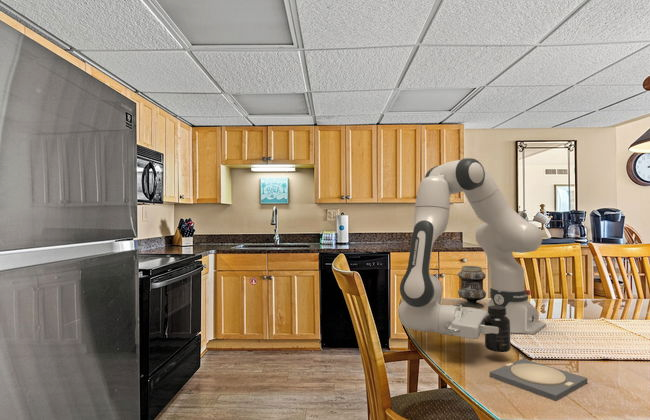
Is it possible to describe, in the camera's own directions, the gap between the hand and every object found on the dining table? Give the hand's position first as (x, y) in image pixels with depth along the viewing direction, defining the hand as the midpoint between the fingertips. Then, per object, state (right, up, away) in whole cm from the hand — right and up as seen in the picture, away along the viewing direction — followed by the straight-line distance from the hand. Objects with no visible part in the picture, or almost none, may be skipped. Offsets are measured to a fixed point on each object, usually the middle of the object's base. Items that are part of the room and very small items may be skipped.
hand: (500, 326), depth 111 cm
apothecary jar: (+17, -11, +66) cm, 69 cm away
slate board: (+3, -9, -14) cm, 17 cm away
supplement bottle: (-1, -7, 0) cm, 7 cm away
